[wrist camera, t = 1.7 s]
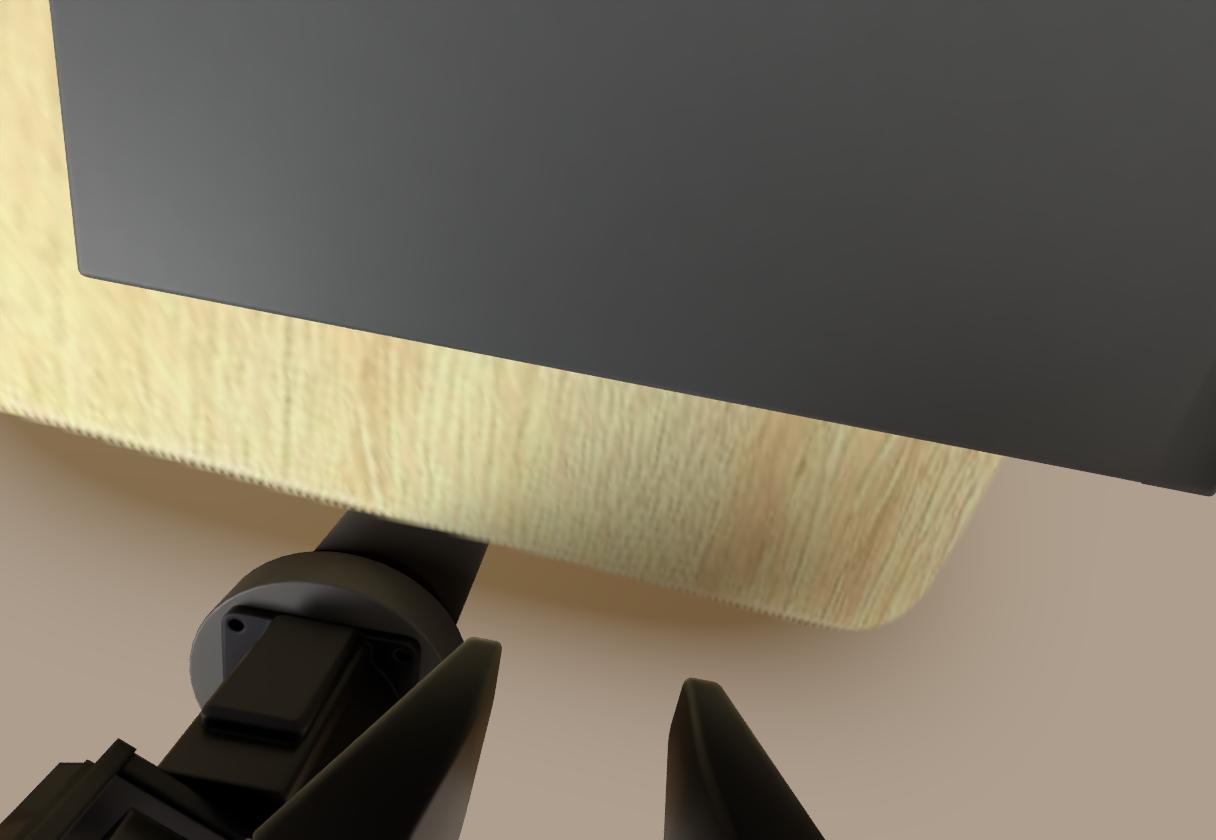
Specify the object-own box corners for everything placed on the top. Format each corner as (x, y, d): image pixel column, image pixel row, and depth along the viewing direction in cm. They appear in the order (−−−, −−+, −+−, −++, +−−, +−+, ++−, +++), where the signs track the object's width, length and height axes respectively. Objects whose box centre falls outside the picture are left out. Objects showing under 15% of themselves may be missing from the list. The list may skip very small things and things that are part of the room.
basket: (855, 281, 19) (1215, 499, 7) (439, 198, 19) (75, 278, 7) (961, -46, 16) (1891, -636, 4) (470, -150, 16) (-78, -1098, 4)
